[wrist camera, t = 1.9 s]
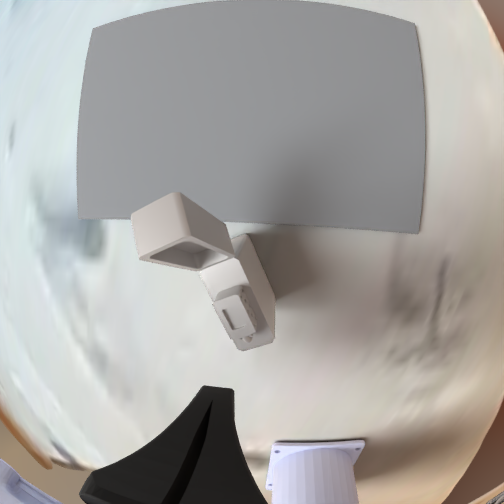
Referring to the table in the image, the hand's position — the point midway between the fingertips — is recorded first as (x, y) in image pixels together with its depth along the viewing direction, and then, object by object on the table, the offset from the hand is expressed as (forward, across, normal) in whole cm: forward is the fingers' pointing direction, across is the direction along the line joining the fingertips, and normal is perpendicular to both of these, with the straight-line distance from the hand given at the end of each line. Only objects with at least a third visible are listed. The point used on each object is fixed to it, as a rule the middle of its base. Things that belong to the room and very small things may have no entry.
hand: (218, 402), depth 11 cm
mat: (+6, 0, -13) cm, 15 cm away
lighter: (+6, 0, -5) cm, 8 cm away
